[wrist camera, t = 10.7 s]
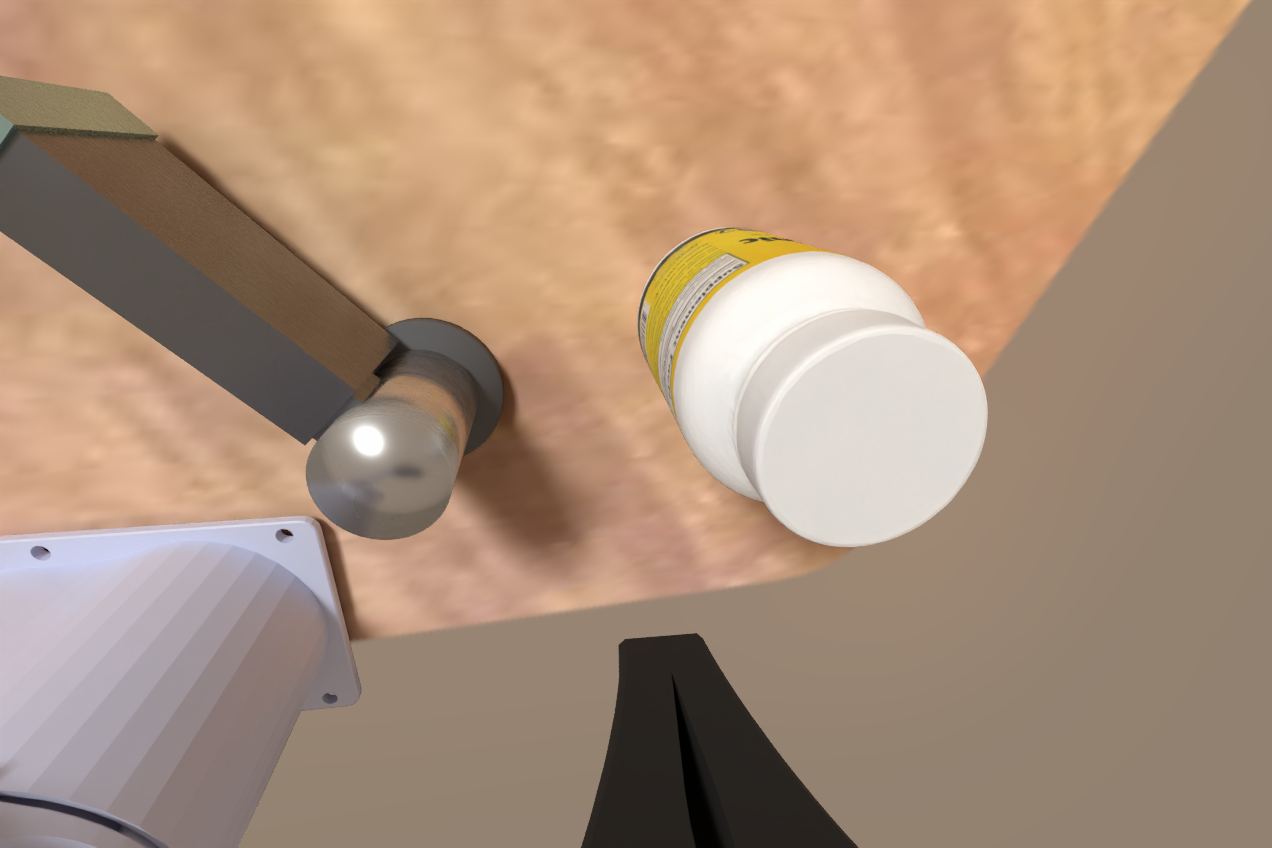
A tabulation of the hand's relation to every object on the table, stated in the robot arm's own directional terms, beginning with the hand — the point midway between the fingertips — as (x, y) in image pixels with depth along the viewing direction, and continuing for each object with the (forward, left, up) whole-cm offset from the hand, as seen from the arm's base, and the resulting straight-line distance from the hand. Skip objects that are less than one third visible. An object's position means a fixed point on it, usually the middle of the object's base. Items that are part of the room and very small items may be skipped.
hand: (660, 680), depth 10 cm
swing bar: (-8, +5, -9) cm, 13 cm away
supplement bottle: (+4, +4, -11) cm, 12 cm away
